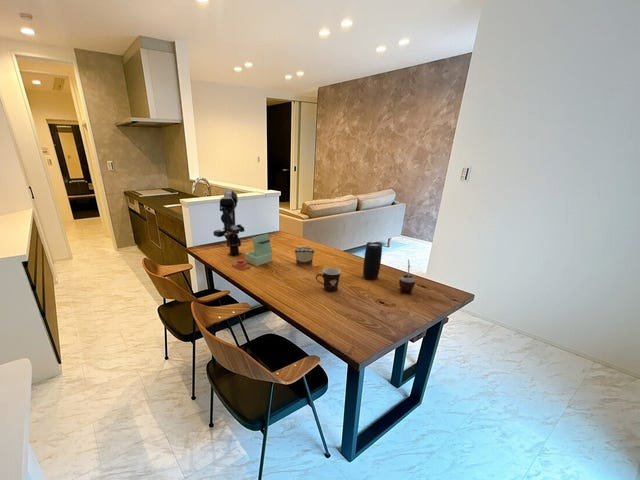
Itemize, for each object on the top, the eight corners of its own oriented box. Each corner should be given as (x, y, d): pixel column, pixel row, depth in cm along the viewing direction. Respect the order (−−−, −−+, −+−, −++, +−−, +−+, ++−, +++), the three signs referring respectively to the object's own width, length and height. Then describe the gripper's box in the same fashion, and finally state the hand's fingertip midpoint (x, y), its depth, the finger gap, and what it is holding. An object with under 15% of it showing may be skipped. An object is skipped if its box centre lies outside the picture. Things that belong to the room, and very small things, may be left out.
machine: (245, 261, 191) (245, 253, 189) (260, 256, 198) (260, 249, 196) (256, 266, 183) (256, 258, 181) (272, 261, 190) (271, 253, 188)
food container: (313, 261, 188) (314, 246, 184) (314, 265, 182) (314, 250, 178) (294, 261, 189) (294, 246, 185) (294, 265, 183) (294, 249, 179)
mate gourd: (406, 296, 144) (411, 267, 138) (393, 289, 150) (397, 262, 144) (416, 292, 147) (422, 264, 141) (403, 286, 153) (408, 259, 147)
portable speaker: (376, 274, 168) (381, 241, 160) (379, 281, 159) (384, 246, 151) (361, 273, 169) (365, 240, 161) (363, 280, 161) (367, 246, 153)
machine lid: (251, 237, 178) (256, 237, 174) (267, 233, 186) (272, 233, 182) (255, 257, 181) (260, 257, 177) (271, 252, 188) (276, 252, 185)
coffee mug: (340, 286, 154) (341, 269, 150) (337, 294, 147) (339, 275, 143) (318, 284, 158) (319, 266, 154) (314, 291, 151) (315, 272, 146)
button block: (232, 266, 184) (231, 261, 183) (240, 263, 188) (240, 258, 187) (241, 270, 177) (241, 265, 176) (250, 267, 181) (249, 263, 180)
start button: (236, 262, 182) (236, 260, 181) (241, 261, 184) (241, 258, 183) (240, 264, 179) (239, 261, 178) (244, 262, 181) (244, 260, 180)
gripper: (221, 224, 163) (224, 251, 170) (249, 219, 174) (250, 244, 181) (211, 221, 171) (214, 247, 177) (238, 216, 182) (240, 240, 188)
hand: (230, 244), depth 181 cm, fingers closed
